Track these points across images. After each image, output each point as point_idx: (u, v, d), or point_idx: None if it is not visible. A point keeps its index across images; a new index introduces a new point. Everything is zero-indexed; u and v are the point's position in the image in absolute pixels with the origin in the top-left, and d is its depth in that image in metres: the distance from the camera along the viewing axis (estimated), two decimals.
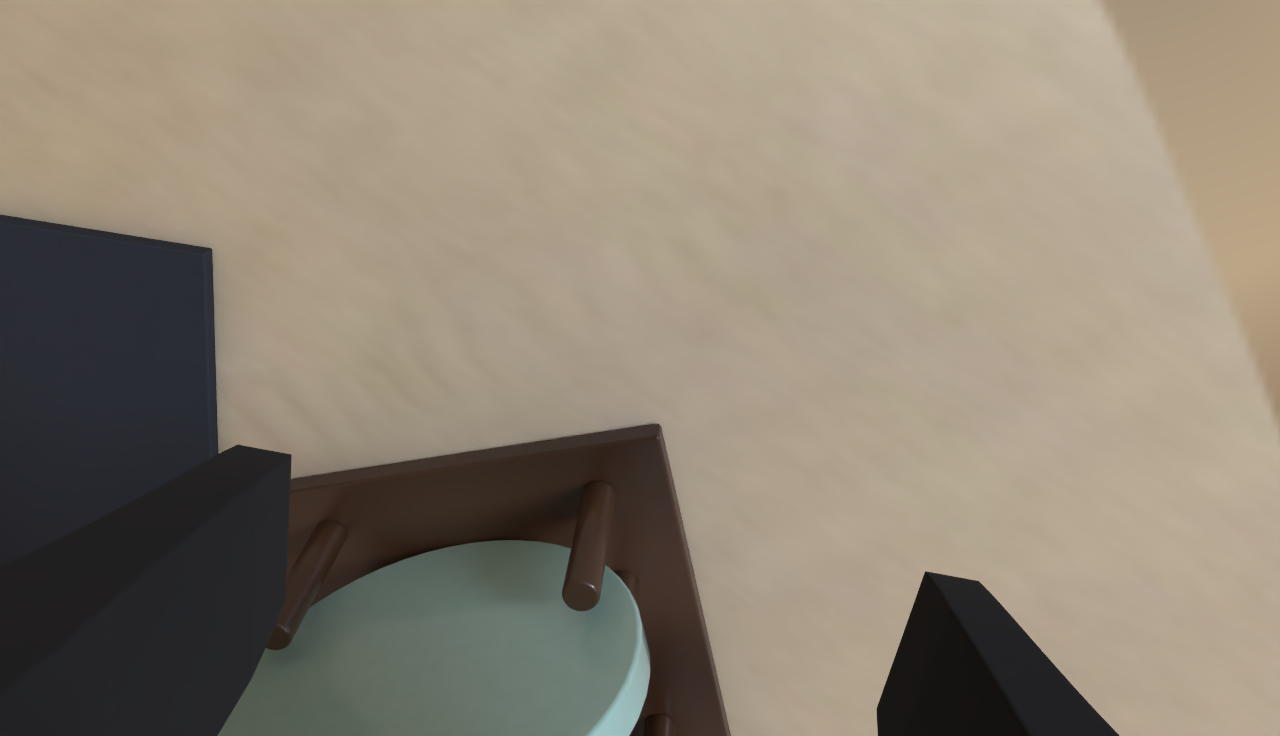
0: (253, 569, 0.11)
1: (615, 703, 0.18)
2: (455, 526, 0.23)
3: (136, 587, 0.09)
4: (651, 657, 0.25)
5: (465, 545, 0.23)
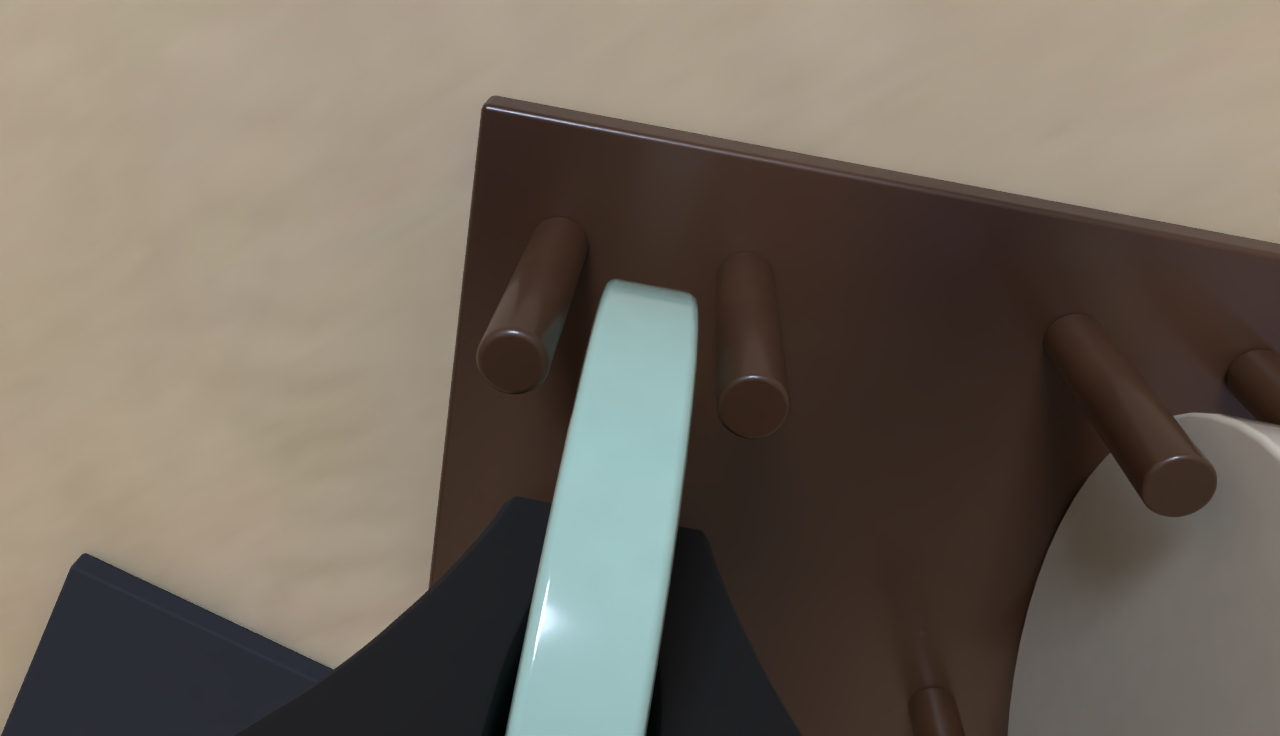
0: None
1: (572, 429, 0.08)
2: (547, 471, 0.15)
3: (507, 655, 0.09)
4: (918, 293, 0.13)
5: None
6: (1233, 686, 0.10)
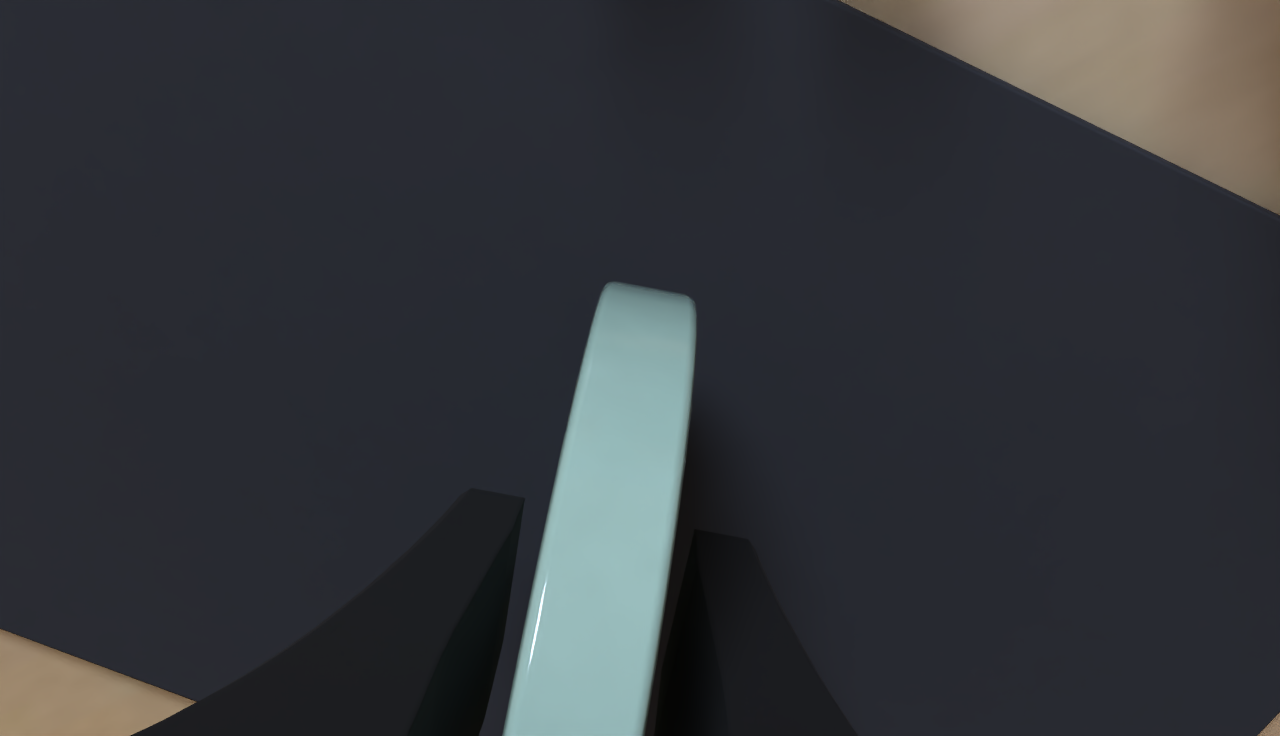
0: (499, 614, 0.11)
1: (569, 433, 0.08)
2: None
3: (449, 644, 0.09)
4: None
5: None
6: None
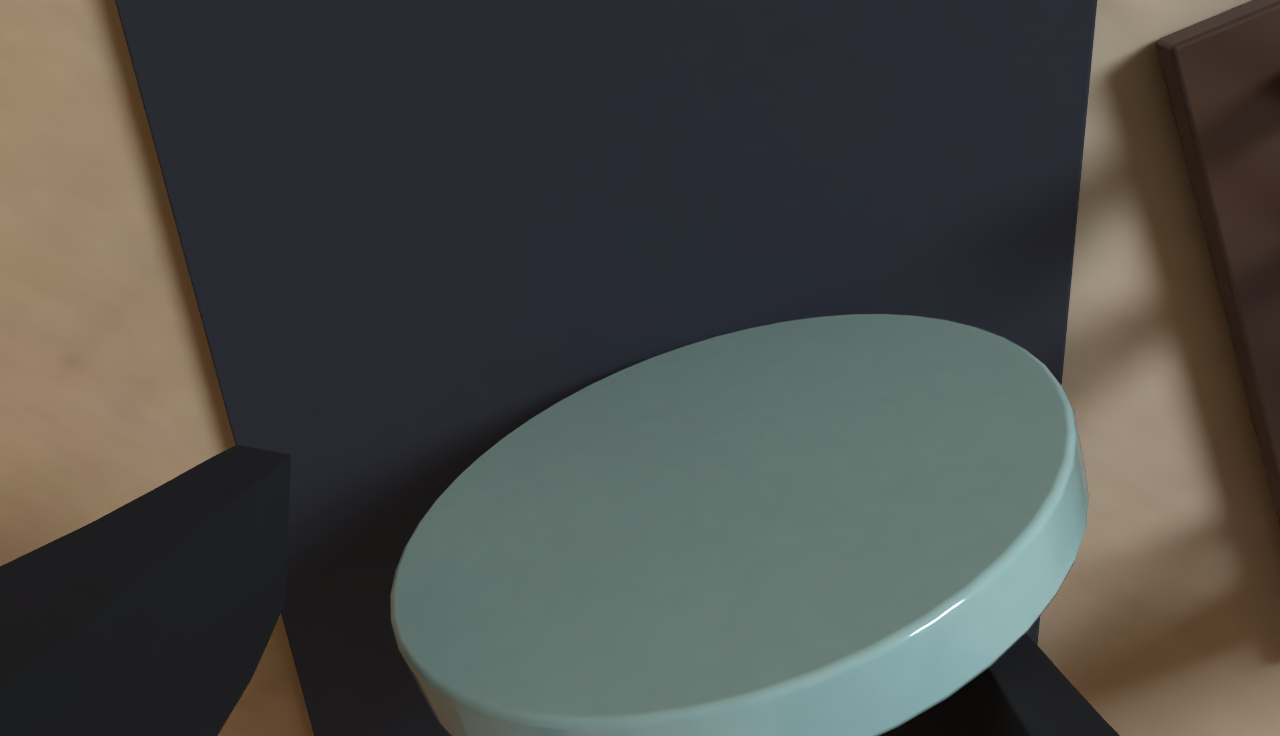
0: (253, 569, 0.11)
1: (1060, 385, 0.12)
2: None
3: (135, 587, 0.09)
4: None
5: (614, 374, 0.16)
6: None
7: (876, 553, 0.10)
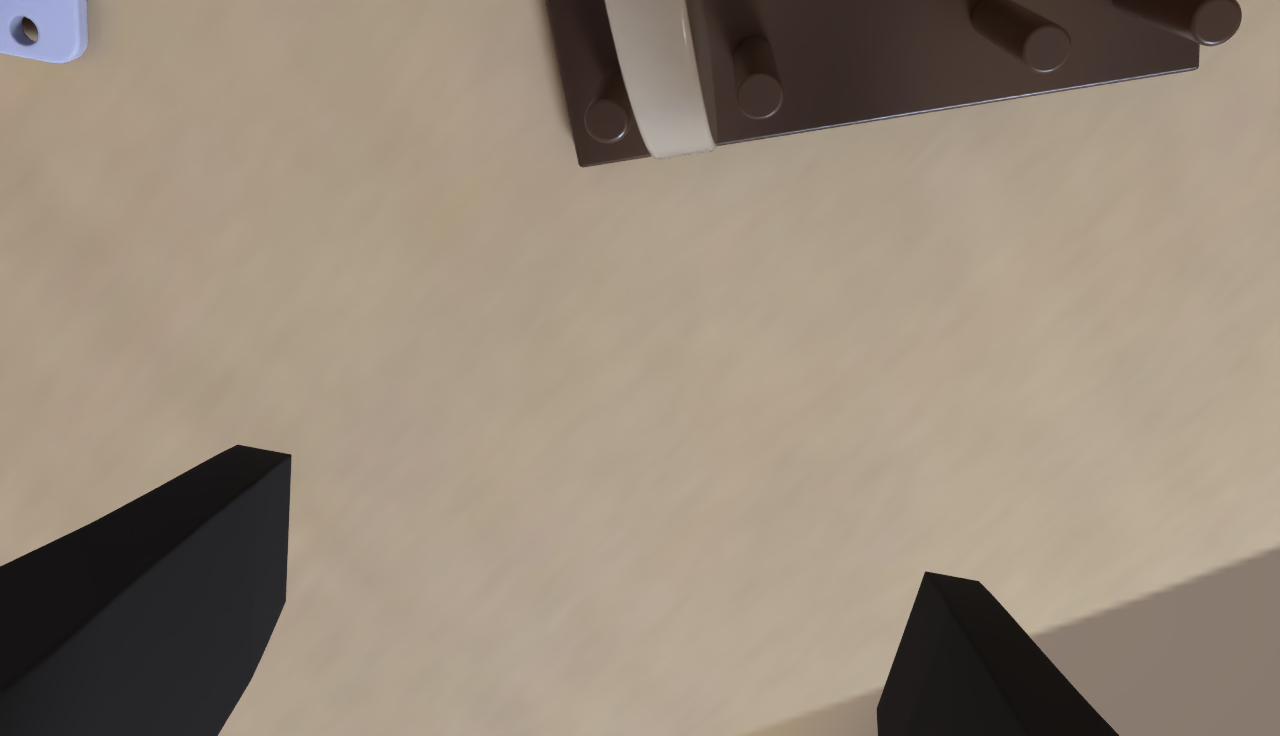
0: (253, 569, 0.11)
1: None
2: None
3: (136, 588, 0.09)
4: (868, 49, 0.19)
5: None
6: (696, 12, 0.15)
7: None
